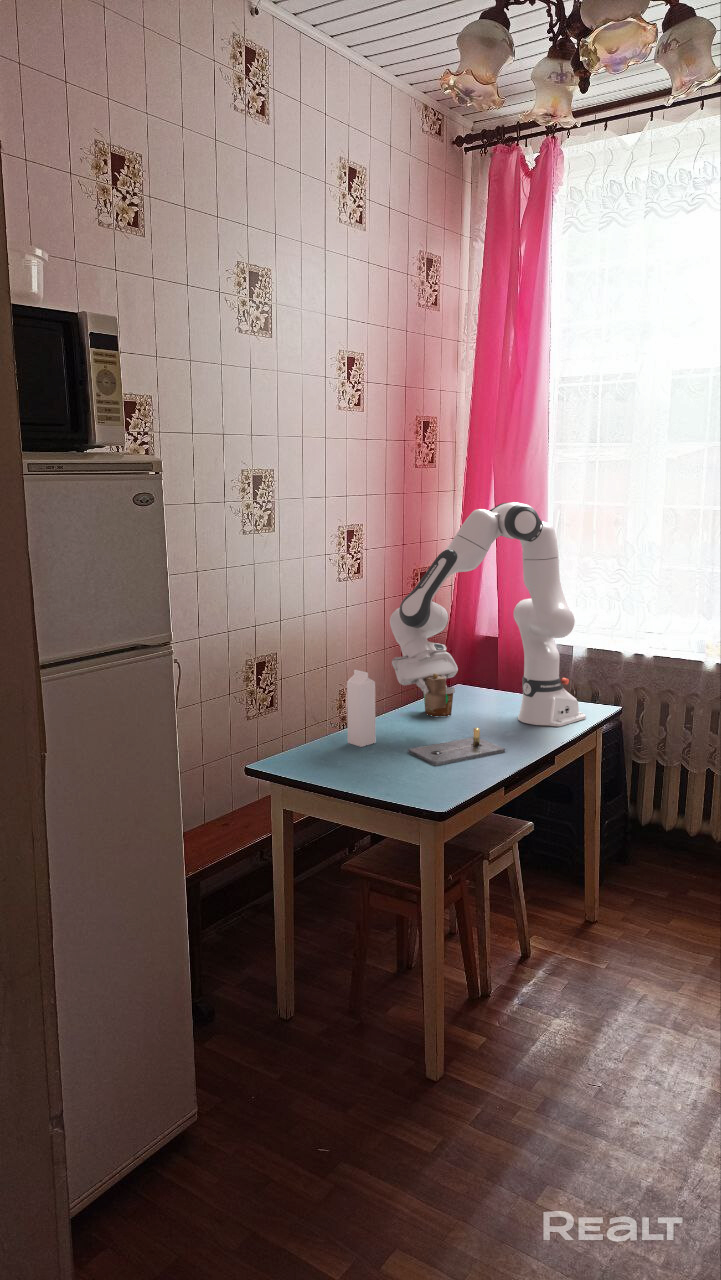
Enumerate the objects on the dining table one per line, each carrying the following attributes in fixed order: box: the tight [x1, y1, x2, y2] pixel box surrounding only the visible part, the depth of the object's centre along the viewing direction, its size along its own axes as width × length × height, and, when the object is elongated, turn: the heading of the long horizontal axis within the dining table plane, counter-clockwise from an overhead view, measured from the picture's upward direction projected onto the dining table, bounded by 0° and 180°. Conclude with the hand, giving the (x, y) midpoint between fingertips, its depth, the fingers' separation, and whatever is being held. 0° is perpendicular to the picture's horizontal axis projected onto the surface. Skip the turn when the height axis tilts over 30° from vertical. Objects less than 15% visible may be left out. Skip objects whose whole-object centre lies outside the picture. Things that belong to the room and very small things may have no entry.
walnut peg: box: [424, 674, 447, 710], centre depth 270 cm, size 4×4×10 cm
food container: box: [420, 682, 456, 717], centre depth 297 cm, size 12×6×10 cm, turn 49°
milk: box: [346, 669, 376, 748], centre depth 265 cm, size 6×6×22 cm
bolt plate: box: [407, 727, 506, 767], centre depth 257 cm, size 24×14×6 cm, turn 119°
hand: (436, 691), depth 270 cm, fingers closed on walnut peg, 4 cm apart
